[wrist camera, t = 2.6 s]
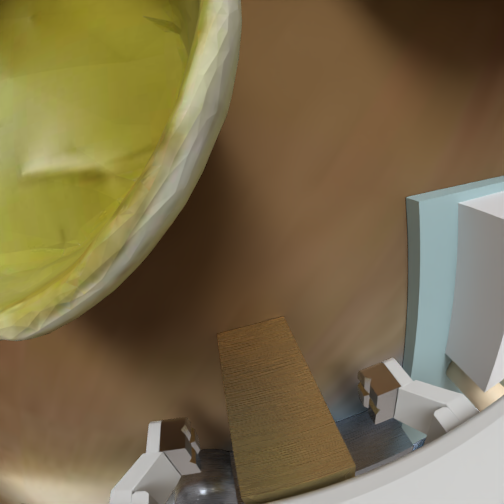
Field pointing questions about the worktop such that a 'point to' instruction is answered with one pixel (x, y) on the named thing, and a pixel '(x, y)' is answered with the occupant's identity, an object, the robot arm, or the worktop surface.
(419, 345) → the jig plate
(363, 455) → the grey lever handle
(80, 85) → the mug
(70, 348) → the worktop surface
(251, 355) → the wooden bar
